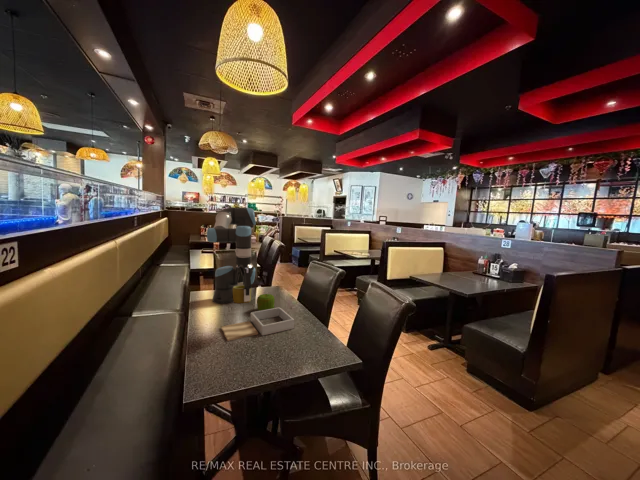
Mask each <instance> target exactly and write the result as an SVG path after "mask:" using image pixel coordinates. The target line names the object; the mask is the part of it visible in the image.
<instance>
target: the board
mask: <svg viewBox="0 0 640 480" xmlns="http://www.w3.org/2000/svg"><path fill="white" fill-rule="evenodd" d="M220 327H221V331H222V332H223V335H224V337H225V339H226V341H227V342H229V341H235V340H238V339H242V338H247V337H251V336H255V335H258V334H259V331H258V330H257V328H256V327H255V326H254V324H253V323H252V322H251V320H247V321H243V322H237V323H232V324H227V325H223V326H220Z"/></svg>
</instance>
